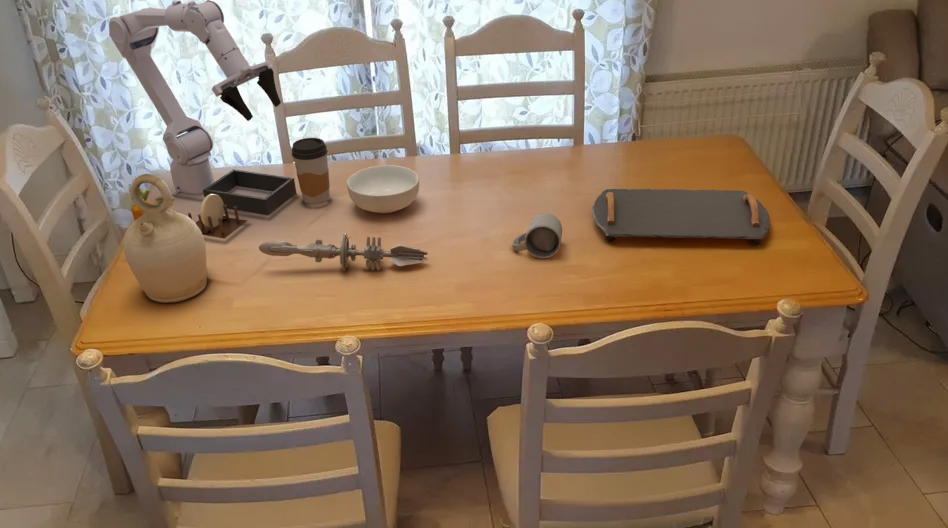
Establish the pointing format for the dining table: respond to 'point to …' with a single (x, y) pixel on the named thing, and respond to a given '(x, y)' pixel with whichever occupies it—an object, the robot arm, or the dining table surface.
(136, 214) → the carrot
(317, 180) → the coffee cup
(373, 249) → the spaceship
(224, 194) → the dark grey open box
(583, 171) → the dining table surface
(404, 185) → the cereal bowl
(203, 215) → the saucer
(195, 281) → the jug
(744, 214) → the serving tray
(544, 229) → the ceramic mug
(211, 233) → the dish rack
